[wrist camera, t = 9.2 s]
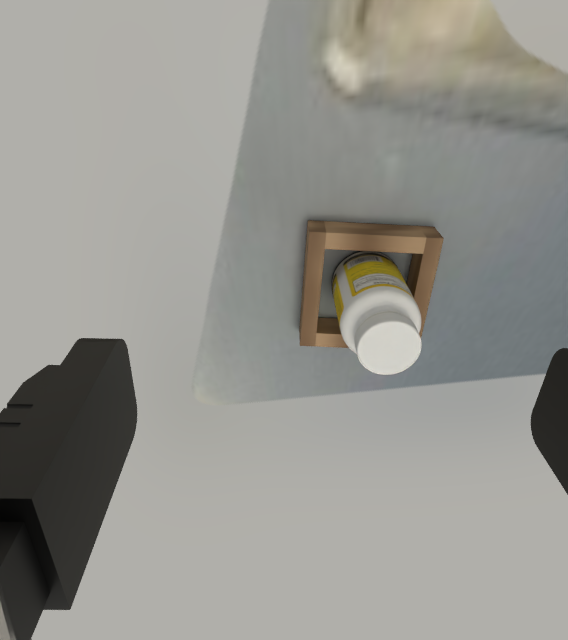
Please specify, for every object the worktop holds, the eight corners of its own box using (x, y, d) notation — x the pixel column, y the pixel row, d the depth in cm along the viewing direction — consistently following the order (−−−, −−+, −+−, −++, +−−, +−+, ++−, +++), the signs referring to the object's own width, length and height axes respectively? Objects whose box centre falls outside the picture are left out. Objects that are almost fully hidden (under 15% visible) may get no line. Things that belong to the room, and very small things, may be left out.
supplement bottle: (368, 322, 40) (390, 398, 31) (317, 287, 38) (325, 356, 30) (414, 274, 38) (451, 341, 29) (362, 235, 36) (385, 294, 28)
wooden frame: (434, 226, 36) (443, 238, 34) (411, 334, 40) (418, 350, 38) (307, 220, 35) (309, 231, 33) (299, 329, 40) (300, 345, 38)
